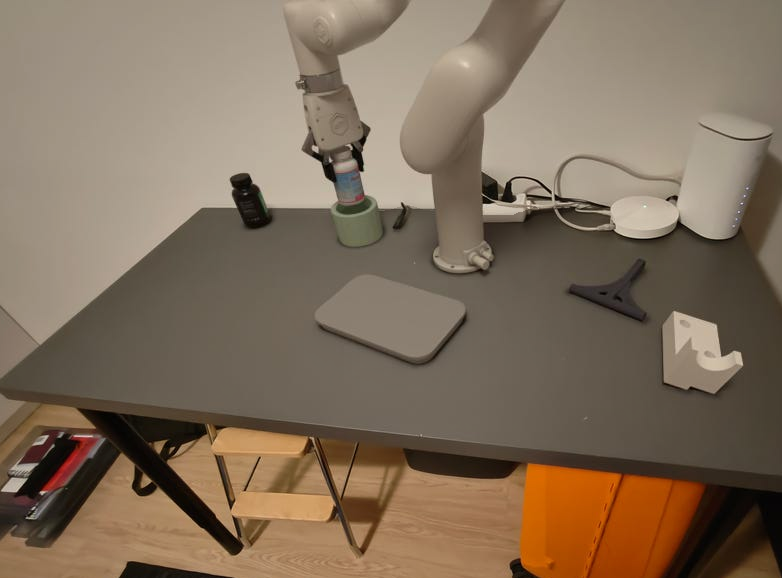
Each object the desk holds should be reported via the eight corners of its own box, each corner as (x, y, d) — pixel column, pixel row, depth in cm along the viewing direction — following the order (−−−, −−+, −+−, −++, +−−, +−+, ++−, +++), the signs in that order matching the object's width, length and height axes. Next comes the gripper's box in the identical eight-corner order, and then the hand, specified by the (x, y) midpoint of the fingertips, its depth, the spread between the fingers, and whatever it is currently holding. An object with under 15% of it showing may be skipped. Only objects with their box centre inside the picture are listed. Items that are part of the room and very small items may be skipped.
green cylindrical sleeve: (391, 234, 108) (385, 204, 103) (352, 252, 104) (344, 222, 99) (368, 219, 115) (362, 190, 109) (331, 235, 111) (322, 206, 105)
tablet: (425, 371, 76) (423, 362, 74) (311, 327, 87) (307, 317, 85) (472, 314, 85) (471, 304, 83) (364, 280, 96) (361, 271, 94)
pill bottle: (363, 206, 101) (351, 154, 93) (336, 208, 101) (322, 156, 93) (367, 193, 105) (356, 142, 97) (341, 195, 106) (328, 145, 98)
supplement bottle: (277, 218, 119) (259, 172, 111) (257, 231, 115) (238, 185, 107) (259, 213, 122) (240, 169, 114) (239, 226, 118) (219, 180, 110)
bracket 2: (710, 397, 68) (743, 365, 62) (663, 382, 69) (692, 349, 63) (703, 339, 77) (732, 306, 71) (662, 325, 77) (687, 292, 71)
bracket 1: (677, 281, 87) (681, 268, 85) (641, 322, 79) (644, 310, 77) (607, 257, 94) (609, 245, 92) (568, 293, 87) (569, 281, 85)
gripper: (288, 97, 81) (318, 194, 94) (371, 73, 88) (388, 167, 100) (272, 89, 85) (302, 183, 98) (352, 67, 92) (371, 158, 105)
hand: (345, 174), depth 99 cm, fingers closed on pill bottle, 6 cm apart
